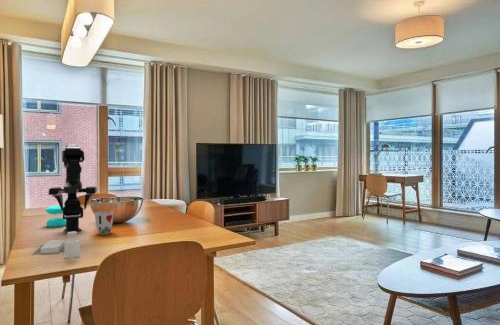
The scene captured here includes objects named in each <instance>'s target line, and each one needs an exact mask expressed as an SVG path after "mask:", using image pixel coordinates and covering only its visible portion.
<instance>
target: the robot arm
mask: <svg viewBox="0 0 500 325" xmlns="http://www.w3.org/2000/svg"><path fill="white" fill-rule="evenodd" d="M61 160H62V163H63V167H64V168H65V183H64V184H63V188H62V187H61V186H60V187H59V186H58V187H50V188H49V189H48V196H52V197H53V198H55V199H56V200H57V203H58V206H60V208H61V210H63V213H62V218H63V219H66V225H65V228H64V229H63V231H65V232H66V233H68V232H72V231H76V232H77V231H82V229H81V227H80V221H79V220H80V219H82V218H84V210H86V209H87V206H88V204H89V202H90V199H91V196H94V195H95V194H97V193H98V188H97V187H96V186H86V187H85V188H83V182H82V181H81V173H82V170H83V168H82V166H81V163H84V161H85V152H84V150H83V149H82V147H81V146H78V144H76V143H68V144H65V148H64V149H63V150H62V151H61ZM78 193H85V194H84V203H83V204H84V205H83V206H82V205H81V201H80V199H79V198H78V197H77V195H78ZM63 194H67V199H65V201H64V200H63V197H64V196H63ZM63 206H64V207H63Z"/></svg>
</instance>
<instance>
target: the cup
mask: <svg viewBox="0 0 500 325" xmlns="http://www.w3.org/2000/svg"><path fill="white" fill-rule="evenodd" d="M94 217H95V218H94V219H95V226H96V229H97V234H100V235H107V234H110V233H111V231H112V228H113V223H114V211H97V212H95V213H94Z"/></svg>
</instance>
